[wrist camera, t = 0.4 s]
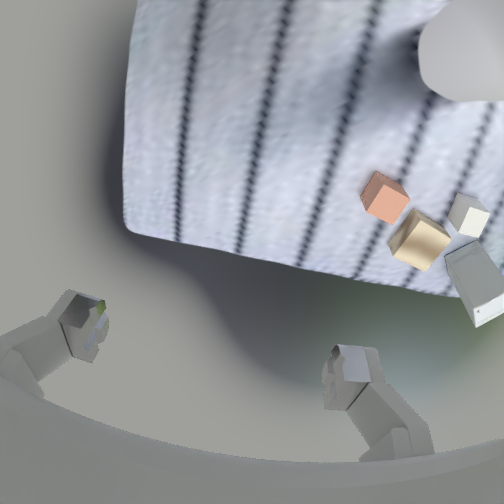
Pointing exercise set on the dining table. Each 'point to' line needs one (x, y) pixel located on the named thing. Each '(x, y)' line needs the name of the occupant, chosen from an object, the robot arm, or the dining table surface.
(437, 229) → the beech base
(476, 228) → the offwhite cube
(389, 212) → the terracotta cube
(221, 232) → the dining table surface
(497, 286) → the skincare box
